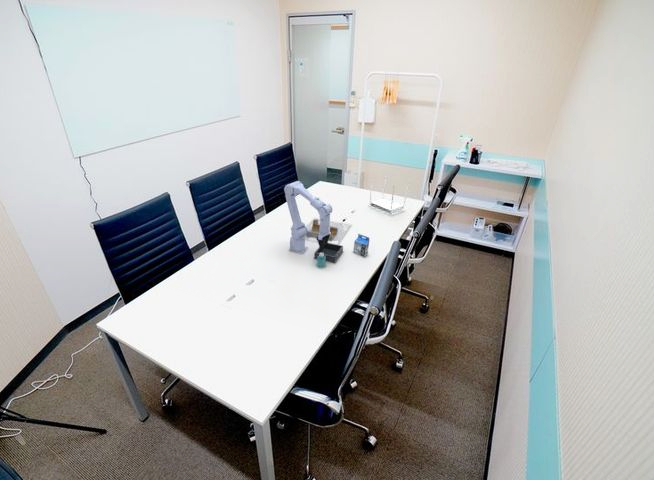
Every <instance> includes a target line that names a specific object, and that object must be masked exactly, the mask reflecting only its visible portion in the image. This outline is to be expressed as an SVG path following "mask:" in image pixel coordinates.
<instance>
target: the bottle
mask: <svg viewBox="0 0 654 480" xmlns="http://www.w3.org/2000/svg"><path fill="white" fill-rule="evenodd" d="M326 262H327V261H326V257H325V256H324V253H319V256H318V257H317V259H316V266H317V268H321V269H323V268H326Z"/></svg>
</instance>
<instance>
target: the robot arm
mask: <svg viewBox="0 0 654 480" xmlns="http://www.w3.org/2000/svg"><path fill="white" fill-rule="evenodd" d="M283 191H284V194H285V200H286V204H287V208H288V210H289V215H290V218H291V222H292V226H291V227H290V230H291V231H290V235H291V236H290V238H289V251H291V252H295V253H299V254H304V253H305V252H306V250H307V249H308V247H307V246H306V240H305V237H306V234H307V233H308V230H307V226H306V223H304V222H302V219H301V215H300V212H299V208H298V204H297V200H296V197H297V195H299V196H301V197H303V198H304V199H306V200H307V201H308V202H309V205H310V206H311V207H313V208H314V209H315V210H317V214H318V216H319V220H320V231H319V236H318V237H317V238H315V239H316V241H317V243H318V248H319V247H320V248H321V249H323V247H324V243H329V237H330V234H331V233H332V232H331V231H329V230H330V227H329V225H330V222H331V214H332V212H333V207H332V206H331V204H330V203H326V202H323V200H321V199H320V197H318V196H313V194H312V193H310V192H309V191H308V190H307V188H305V186H304V184H303V183H302V182H301V181H300V180H296V181H294V182H291V183H288V184H285V186H284V188H283ZM323 237H324V238H323Z"/></svg>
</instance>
